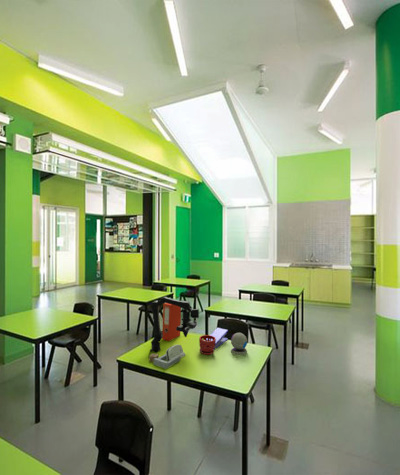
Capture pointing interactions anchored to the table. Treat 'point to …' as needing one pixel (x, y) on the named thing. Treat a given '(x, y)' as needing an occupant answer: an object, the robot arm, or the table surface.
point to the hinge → (174, 352)
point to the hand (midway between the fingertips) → (185, 336)
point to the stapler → (219, 336)
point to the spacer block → (153, 357)
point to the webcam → (239, 344)
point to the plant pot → (207, 344)
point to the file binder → (171, 321)
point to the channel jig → (164, 364)
